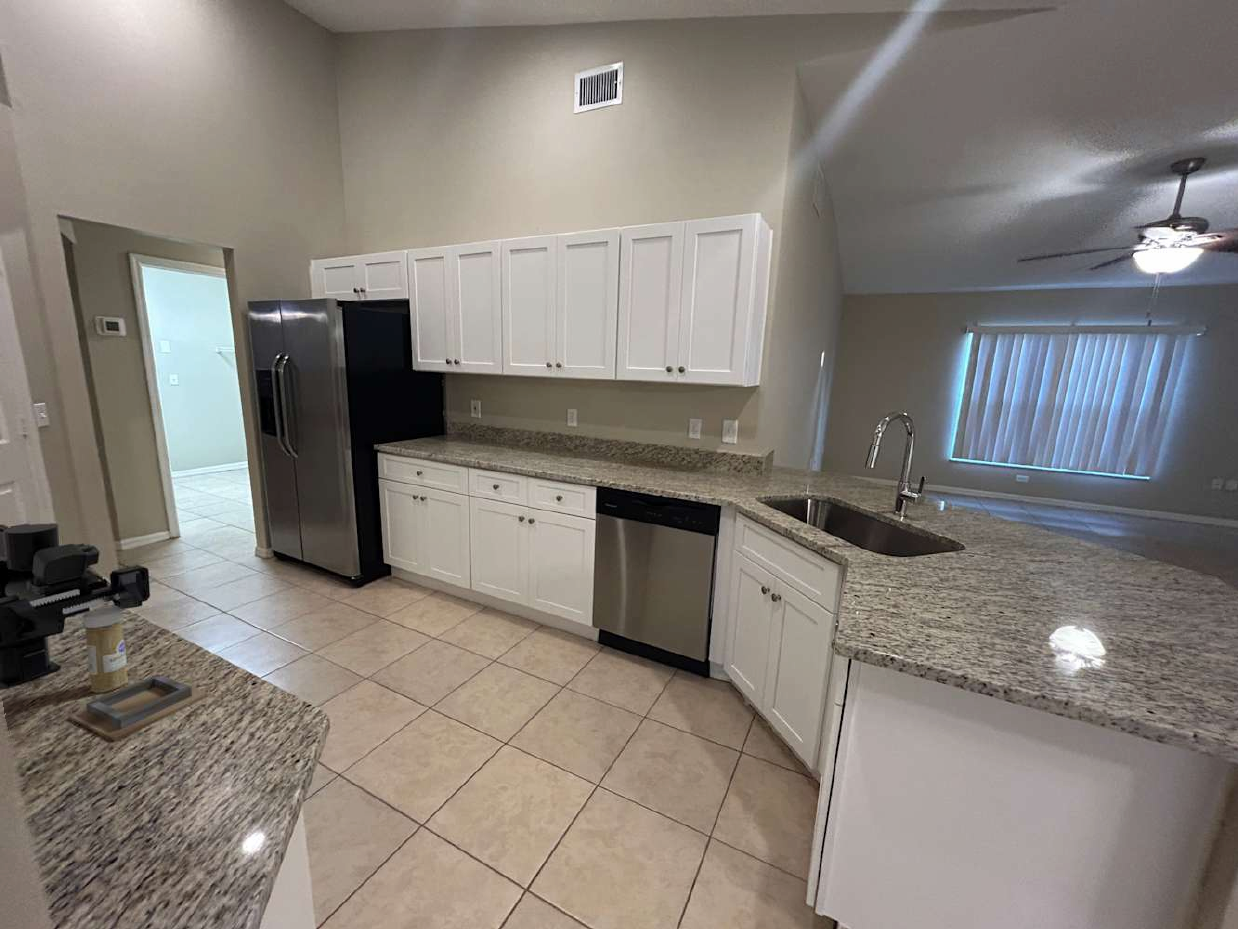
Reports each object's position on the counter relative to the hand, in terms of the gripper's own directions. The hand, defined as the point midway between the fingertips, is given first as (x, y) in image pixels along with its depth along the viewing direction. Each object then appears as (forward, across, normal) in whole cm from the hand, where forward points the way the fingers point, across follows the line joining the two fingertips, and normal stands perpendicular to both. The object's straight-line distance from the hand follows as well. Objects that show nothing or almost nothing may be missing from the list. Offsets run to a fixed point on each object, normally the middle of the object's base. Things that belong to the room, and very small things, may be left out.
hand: (102, 614), depth 74 cm
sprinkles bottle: (-9, +4, +17) cm, 19 cm away
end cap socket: (+2, +3, +16) cm, 17 cm away
